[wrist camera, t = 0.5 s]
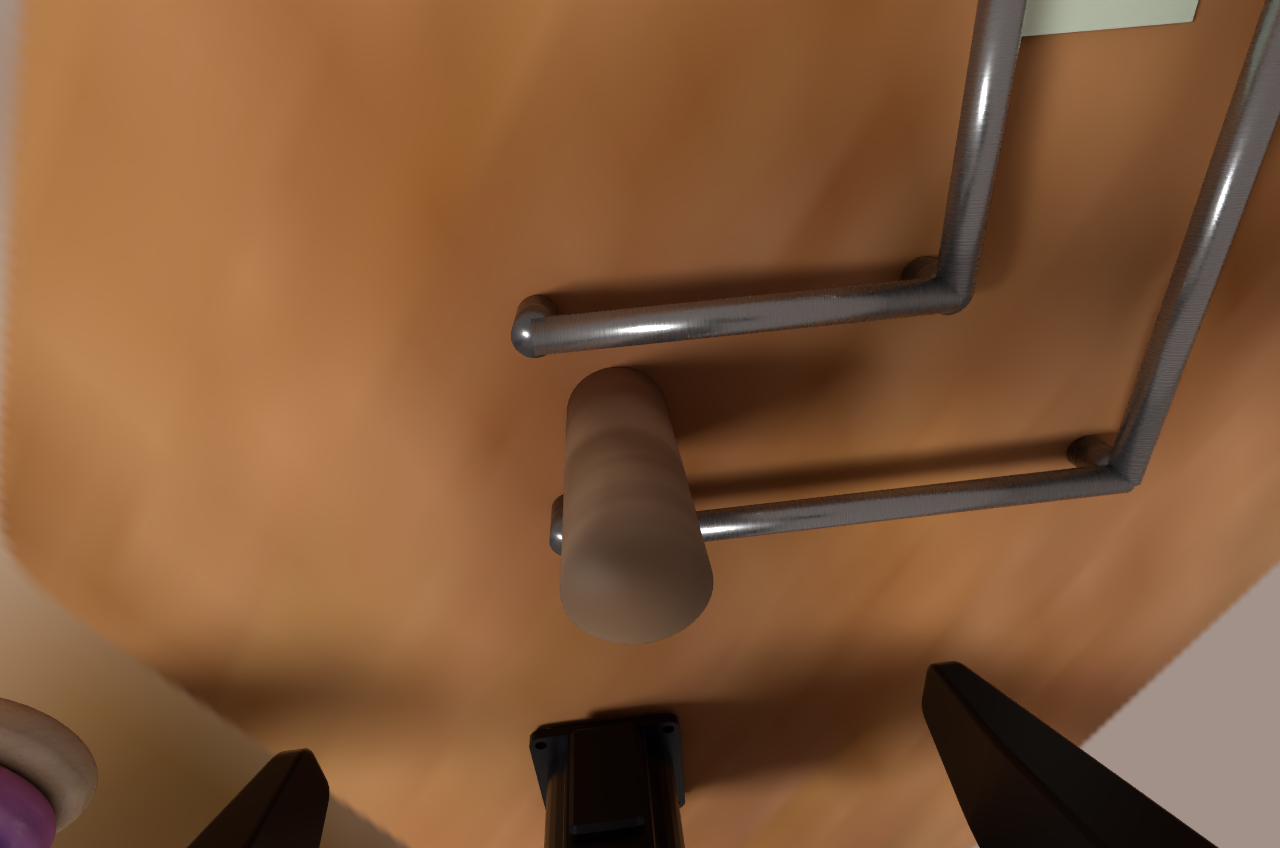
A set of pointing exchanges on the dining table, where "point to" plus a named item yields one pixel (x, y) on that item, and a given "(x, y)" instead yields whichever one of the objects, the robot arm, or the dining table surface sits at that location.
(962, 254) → the rails leg
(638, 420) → the walnut peg
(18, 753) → the stacking toy
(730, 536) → the rail leg
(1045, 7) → the sage coaster
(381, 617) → the dining table surface
